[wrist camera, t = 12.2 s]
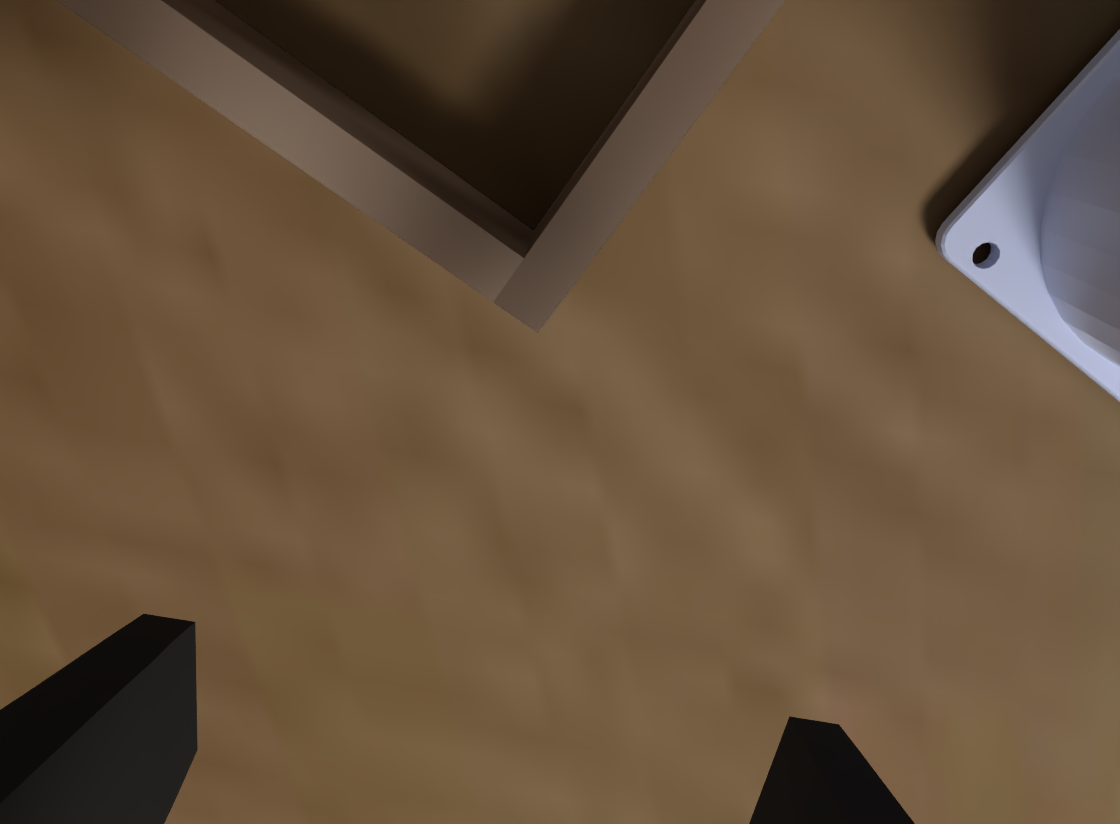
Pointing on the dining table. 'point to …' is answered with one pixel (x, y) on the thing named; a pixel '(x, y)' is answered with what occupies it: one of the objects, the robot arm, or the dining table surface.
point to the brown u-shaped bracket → (415, 177)
